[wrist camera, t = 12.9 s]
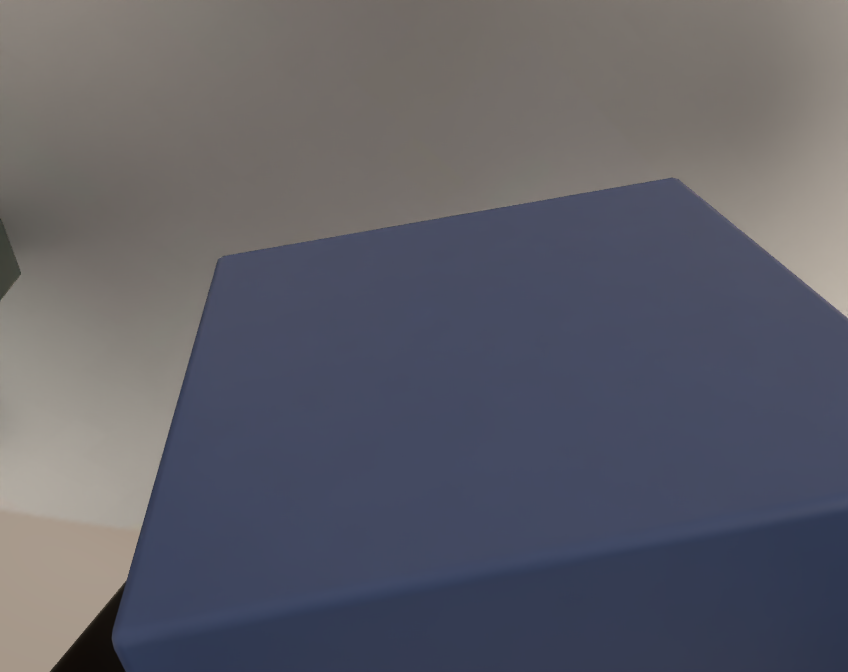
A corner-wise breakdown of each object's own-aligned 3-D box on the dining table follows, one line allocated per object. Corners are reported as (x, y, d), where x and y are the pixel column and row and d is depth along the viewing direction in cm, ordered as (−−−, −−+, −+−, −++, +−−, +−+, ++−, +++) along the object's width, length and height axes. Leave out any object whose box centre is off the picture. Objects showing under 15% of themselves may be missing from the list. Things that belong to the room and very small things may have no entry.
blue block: (314, 585, 10) (308, 1044, 6) (215, 253, 8) (101, 641, 4) (671, 518, 10) (895, 926, 6) (676, 173, 8) (1040, 466, 4)
